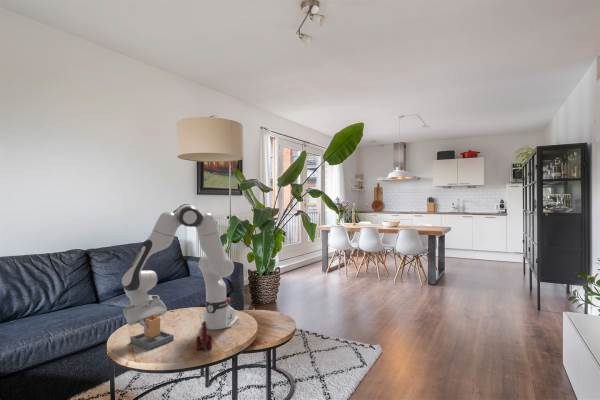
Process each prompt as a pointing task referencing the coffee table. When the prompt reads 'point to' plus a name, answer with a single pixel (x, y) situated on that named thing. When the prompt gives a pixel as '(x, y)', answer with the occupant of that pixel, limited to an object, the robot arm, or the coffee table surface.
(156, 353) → the coffee table surface
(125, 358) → the coffee table surface
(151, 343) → the tray
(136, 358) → the coffee table surface
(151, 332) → the box
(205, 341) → the toy fire truck
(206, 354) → the coffee table surface
